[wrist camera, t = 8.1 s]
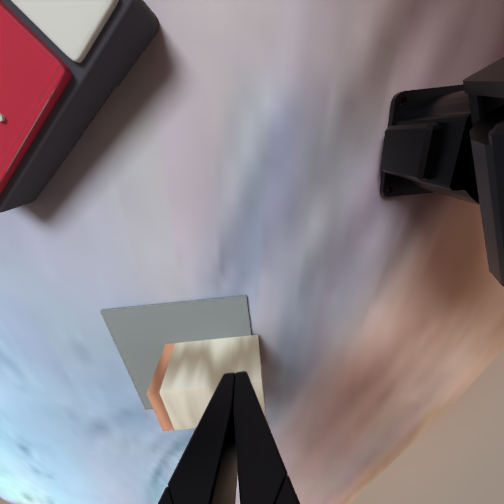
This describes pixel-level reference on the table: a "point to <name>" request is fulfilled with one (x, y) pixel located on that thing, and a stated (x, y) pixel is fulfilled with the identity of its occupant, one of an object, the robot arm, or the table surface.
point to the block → (200, 377)
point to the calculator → (59, 80)
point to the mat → (171, 331)
